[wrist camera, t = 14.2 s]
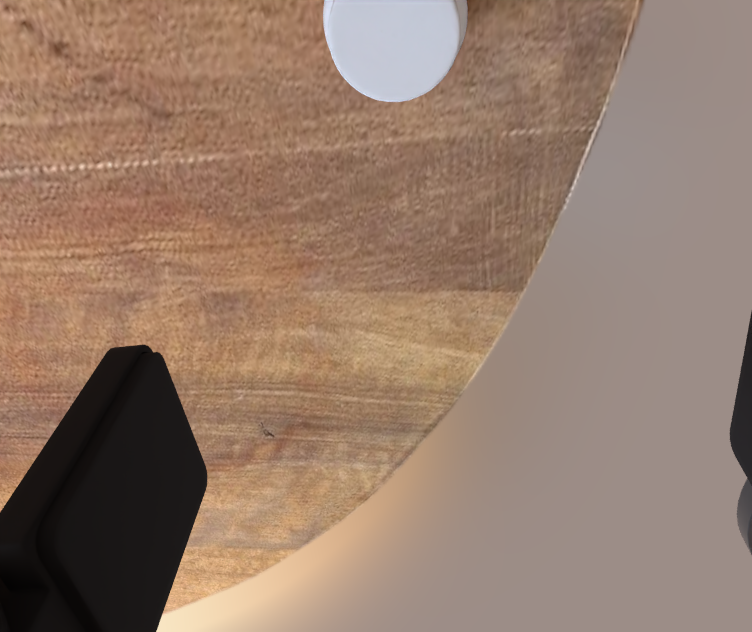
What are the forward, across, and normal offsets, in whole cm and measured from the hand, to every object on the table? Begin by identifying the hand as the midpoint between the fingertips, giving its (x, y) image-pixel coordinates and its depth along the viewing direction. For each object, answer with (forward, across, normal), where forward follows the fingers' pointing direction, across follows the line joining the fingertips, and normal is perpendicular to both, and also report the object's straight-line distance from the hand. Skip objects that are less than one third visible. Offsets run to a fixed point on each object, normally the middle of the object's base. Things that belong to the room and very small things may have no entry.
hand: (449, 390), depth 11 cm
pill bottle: (+21, +1, -3) cm, 22 cm away
